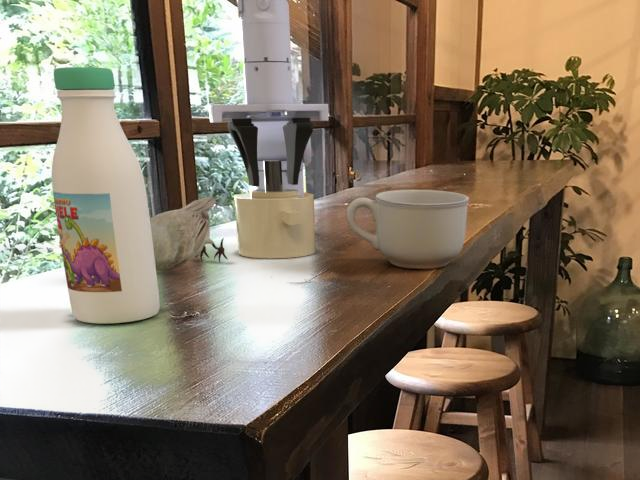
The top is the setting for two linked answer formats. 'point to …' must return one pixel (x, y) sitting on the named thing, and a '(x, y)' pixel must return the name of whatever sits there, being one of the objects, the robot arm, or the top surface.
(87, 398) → the top surface
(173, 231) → the decorative bird
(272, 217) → the kettle
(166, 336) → the top surface
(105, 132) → the milk bottle
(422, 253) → the teacup
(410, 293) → the top surface
